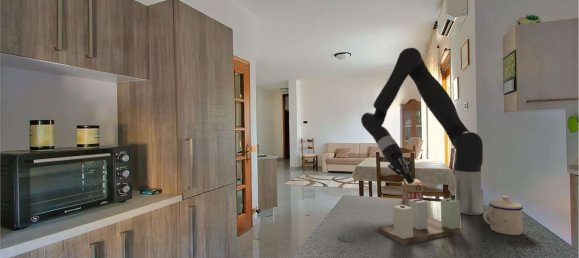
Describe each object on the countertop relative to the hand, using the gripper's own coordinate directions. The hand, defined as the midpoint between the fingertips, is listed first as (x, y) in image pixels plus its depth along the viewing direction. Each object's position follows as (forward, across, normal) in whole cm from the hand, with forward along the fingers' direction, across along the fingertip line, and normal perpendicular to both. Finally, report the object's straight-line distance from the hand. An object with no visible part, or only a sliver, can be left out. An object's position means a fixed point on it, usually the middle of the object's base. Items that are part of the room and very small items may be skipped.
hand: (411, 182), depth 112 cm
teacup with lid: (+27, +13, -11) cm, 32 cm away
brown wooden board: (+19, -11, +1) cm, 22 cm away
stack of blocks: (+4, +13, +16) cm, 21 cm away
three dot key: (+17, -12, -1) cm, 21 cm away
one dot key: (+19, -22, -2) cm, 29 cm away
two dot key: (+20, -2, -5) cm, 21 cm away
